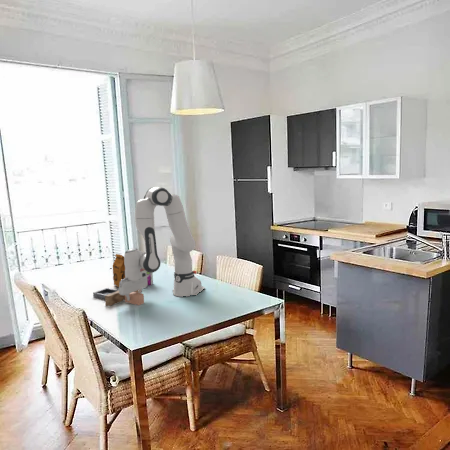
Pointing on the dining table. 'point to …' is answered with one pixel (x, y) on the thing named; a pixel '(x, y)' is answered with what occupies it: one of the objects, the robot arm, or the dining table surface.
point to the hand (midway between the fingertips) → (134, 298)
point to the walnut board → (114, 298)
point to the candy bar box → (148, 276)
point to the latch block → (135, 298)
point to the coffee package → (118, 269)
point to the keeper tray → (103, 293)
